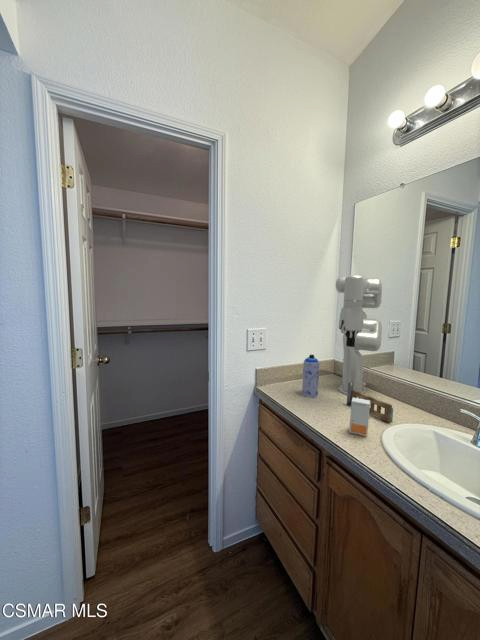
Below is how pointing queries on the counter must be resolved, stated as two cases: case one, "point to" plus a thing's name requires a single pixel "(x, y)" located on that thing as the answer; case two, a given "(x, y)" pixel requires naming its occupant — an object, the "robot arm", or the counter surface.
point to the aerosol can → (310, 377)
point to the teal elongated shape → (349, 397)
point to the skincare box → (359, 416)
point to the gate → (375, 402)
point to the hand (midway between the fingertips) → (350, 346)
